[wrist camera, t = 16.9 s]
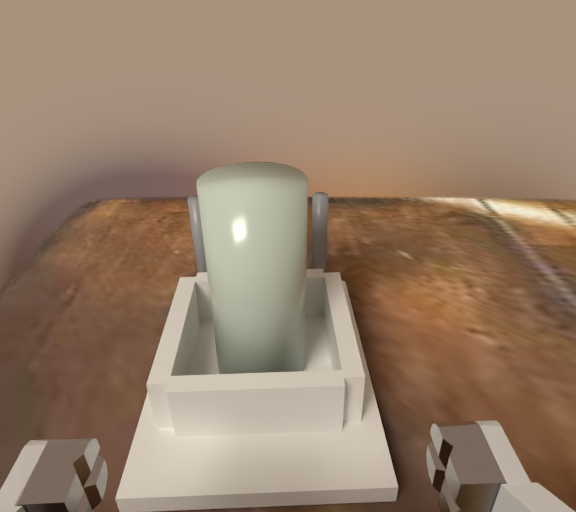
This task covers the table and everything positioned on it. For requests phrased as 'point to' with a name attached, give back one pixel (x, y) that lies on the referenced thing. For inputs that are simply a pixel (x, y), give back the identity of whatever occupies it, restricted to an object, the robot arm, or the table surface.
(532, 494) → the robot arm
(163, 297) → the table surface
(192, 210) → the dish rack
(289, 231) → the pale green canister
